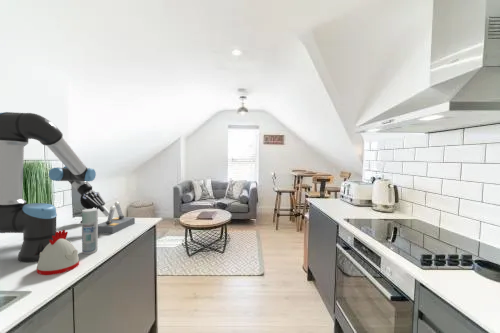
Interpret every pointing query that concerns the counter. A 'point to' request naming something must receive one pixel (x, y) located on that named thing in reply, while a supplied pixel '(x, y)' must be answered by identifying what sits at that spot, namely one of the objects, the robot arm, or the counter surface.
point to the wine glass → (85, 203)
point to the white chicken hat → (58, 256)
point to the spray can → (89, 231)
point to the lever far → (119, 210)
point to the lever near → (110, 215)
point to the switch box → (115, 225)
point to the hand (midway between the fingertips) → (108, 214)
